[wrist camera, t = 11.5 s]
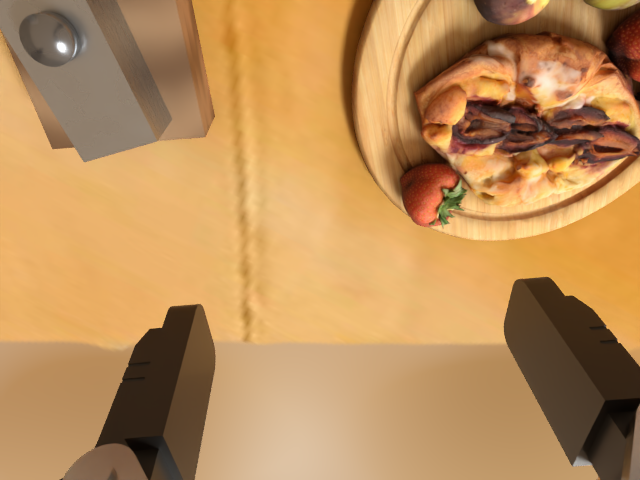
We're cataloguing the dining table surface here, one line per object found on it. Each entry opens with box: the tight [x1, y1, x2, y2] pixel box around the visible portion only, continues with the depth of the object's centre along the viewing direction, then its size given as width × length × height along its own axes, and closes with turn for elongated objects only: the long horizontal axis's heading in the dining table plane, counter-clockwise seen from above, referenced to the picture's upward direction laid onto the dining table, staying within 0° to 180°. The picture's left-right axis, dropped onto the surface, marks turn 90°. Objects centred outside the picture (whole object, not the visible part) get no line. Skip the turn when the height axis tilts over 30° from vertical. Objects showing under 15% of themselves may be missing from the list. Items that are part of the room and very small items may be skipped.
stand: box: [2, 0, 215, 149], centre depth 33 cm, size 12×12×5 cm
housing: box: [0, 0, 172, 162], centre depth 29 cm, size 10×6×6 cm, turn 15°
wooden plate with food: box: [352, 0, 640, 241], centre depth 35 cm, size 32×32×8 cm
